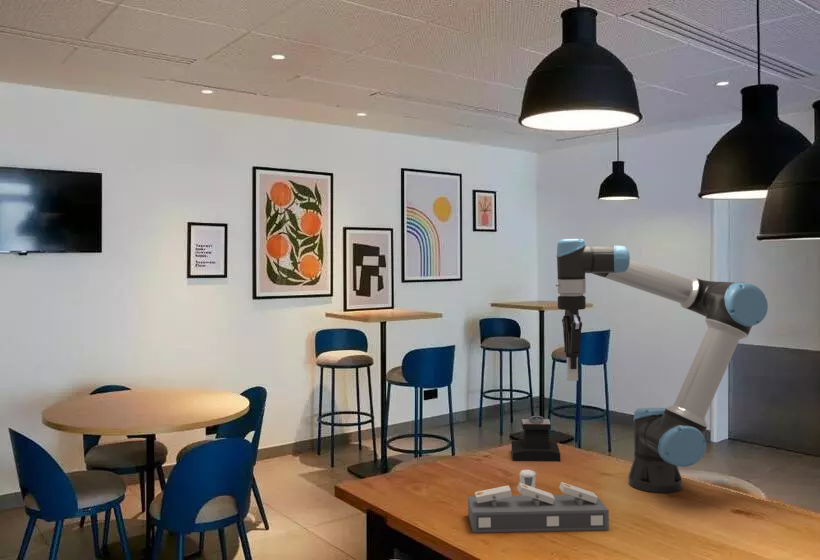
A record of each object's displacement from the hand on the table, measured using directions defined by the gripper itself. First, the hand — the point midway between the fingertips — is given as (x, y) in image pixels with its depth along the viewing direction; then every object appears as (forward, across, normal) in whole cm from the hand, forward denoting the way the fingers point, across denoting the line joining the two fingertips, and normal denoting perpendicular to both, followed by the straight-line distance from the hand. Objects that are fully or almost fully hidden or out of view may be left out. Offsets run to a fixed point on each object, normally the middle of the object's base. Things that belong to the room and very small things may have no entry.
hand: (572, 380), depth 189 cm
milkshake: (+35, -2, -12) cm, 37 cm away
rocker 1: (+27, +13, -24) cm, 38 cm away
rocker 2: (+27, +13, -2) cm, 30 cm away
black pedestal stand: (+35, -50, -2) cm, 61 cm away
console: (+34, +13, -13) cm, 39 cm away
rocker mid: (+27, +13, -13) cm, 33 cm away
